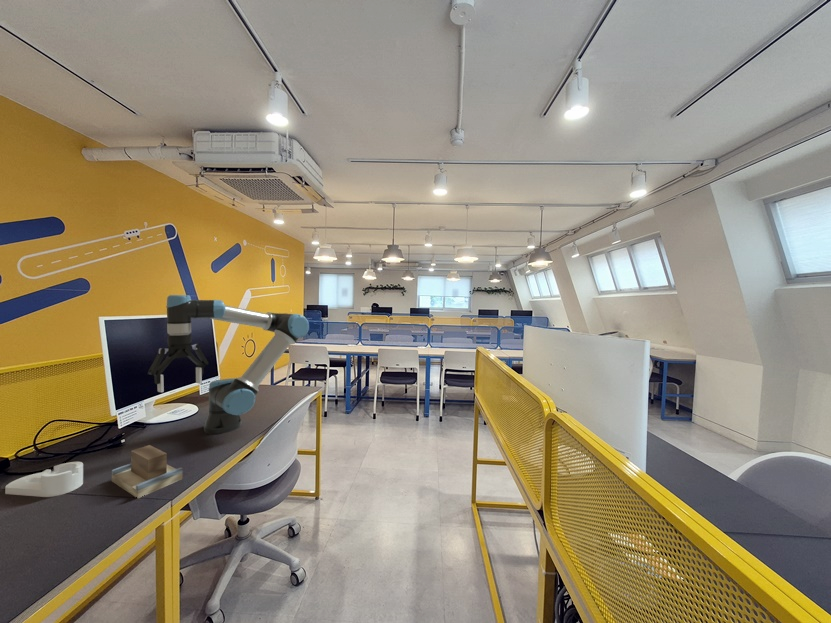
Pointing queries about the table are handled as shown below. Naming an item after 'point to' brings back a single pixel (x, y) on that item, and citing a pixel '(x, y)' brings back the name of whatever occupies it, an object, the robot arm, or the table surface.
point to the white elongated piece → (49, 481)
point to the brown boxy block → (148, 462)
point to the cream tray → (140, 485)
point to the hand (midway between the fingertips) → (180, 387)
